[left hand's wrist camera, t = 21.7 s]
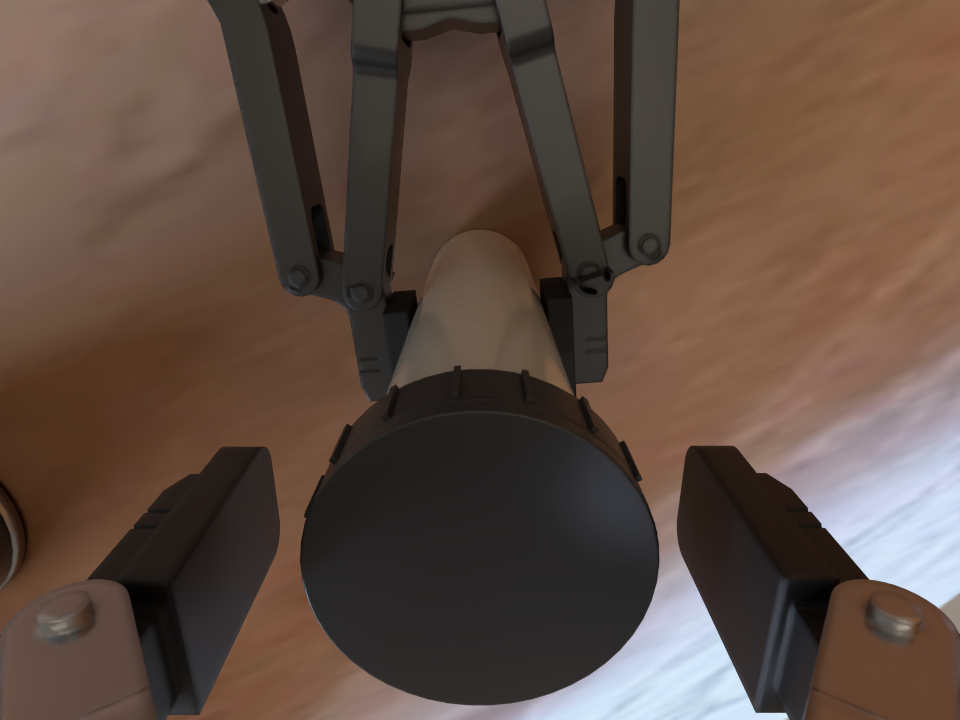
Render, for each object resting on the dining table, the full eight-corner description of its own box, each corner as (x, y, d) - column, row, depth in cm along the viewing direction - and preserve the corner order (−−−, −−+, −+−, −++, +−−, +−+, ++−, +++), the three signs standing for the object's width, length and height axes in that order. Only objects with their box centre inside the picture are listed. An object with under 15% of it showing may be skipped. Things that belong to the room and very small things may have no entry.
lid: (391, 662, 12) (378, 740, 10) (270, 421, 10) (233, 473, 8) (667, 590, 11) (697, 661, 10) (589, 320, 9) (611, 356, 8)
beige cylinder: (530, 227, 26) (623, 414, 9) (529, 325, 27) (609, 643, 11) (427, 230, 26) (329, 420, 9) (432, 328, 27) (357, 647, 11)
